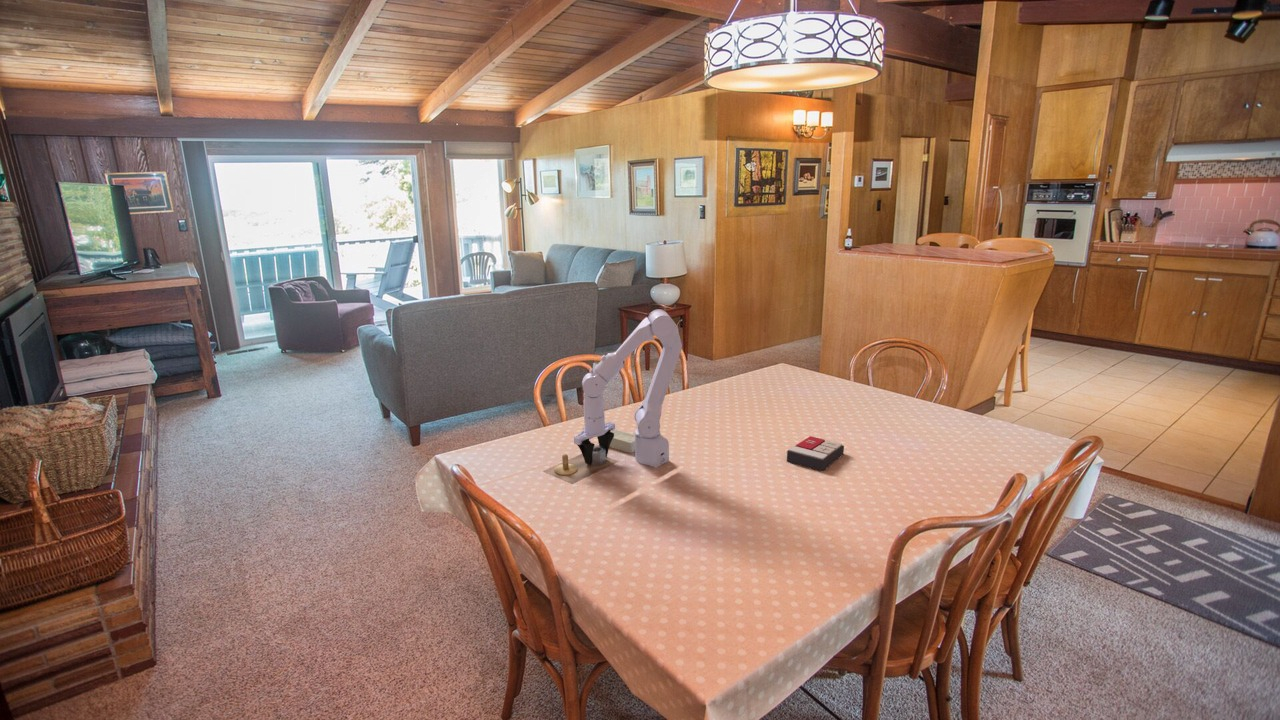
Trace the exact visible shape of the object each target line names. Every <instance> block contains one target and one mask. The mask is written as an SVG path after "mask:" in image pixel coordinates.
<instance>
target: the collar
mask: <svg viewBox="0 0 1280 720" xmlns="http://www.w3.org/2000/svg"><path fill="white" fill-rule="evenodd" d="M594 447H598V448H599V451H595V452H594V451H593V453H592V464H591V465H589V464H587V465H589V466H592V467H595V466H602V465H604V464H606V450H605V447H603V446H600V445H599V444H598V445H596V444H595V445H594Z"/></svg>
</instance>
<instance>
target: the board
mask: <svg viewBox="0 0 1280 720" xmlns="http://www.w3.org/2000/svg"><path fill="white" fill-rule="evenodd" d="M593 451H594V452H595V451H599V448H598V447H594V448H593ZM561 459H562V460H561V463H558V464H556V465H553V466H552V467H550V468H547V469H546V470H543V471H542V472H543V473H545V474H548V475H550V476H553V477H555V478H557V479H560V480H563V481H565V482H567V483H569V484H571V485H573V484H575V483H577V482H579V481H581V480H583V479H585V478H587V477H590V476H592V475H594V474H596V473H598V472H600V471H602V470H604V469H606V468H609V467H611V466H613V465H614V464H616V463H618V462H619V460H617V459H613V458H610V457H608V456H607V457H606V464H604V465H602V466H595V467H592V466H589V465H587V464H586V463H585V460H584V457H583V454H582V453H581V454H579V455H576V456H574V457H572V458H570V459H569V456H568V454H566V453H563V455H562V457H561Z"/></svg>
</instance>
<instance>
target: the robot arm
mask: <svg viewBox="0 0 1280 720" xmlns="http://www.w3.org/2000/svg"><path fill="white" fill-rule="evenodd" d="M679 332H680V331H679V327H678V325H677V324H676V323H675V321H674V320H673V319H672V317H671V315H669V314H668V312H667V311H666V310H664V309H660V308H659V309H654V310H652V311H651V312H650V313H649V314H648V317H647V316H646V317H644V319H642V321H641V322H640V323H639V324H638V325H637V326H636V327H635V329H634V330H633V331H632V332H631V333H630V334H629V336H628V337H626V339H625V340H624V341H623V343H622V344H621V345H620V346H619V347H618V349H616V351H613V352H608V353H607V354H606V355H605V354H603V355H602V356H601V357H600V361H599V362H598V363H597V364H596V366H594V367H593V368H590V369H589V372H588V373H586V374H585V375H584V376H583V378H582V381H581V386H582V390H583V396H582V397H583V420H584V427H582V431H581V432H579V433H578V434H577V435H575V436H573V444H575V445H576V446H578V448H579V450H580V452H581V454H583V457H584V460H585V463H586V464H589V465H591V464H592V453H593V448H594V446H596V444H595V443H594V442H591V439H593V438H596V437H597V441H598V445H600V446H603V447H605V450H606V457H608V454H609V450H610V447H609V446H610V443H611V441H612V439H613V437H614V433H612V432H611V430H615V429H616V423H614V422H612V421H609V422H605V421H606V419H605V418H606V417H605V399H604V395H603V394H604V392H605V386H606V385H608V384H609V383H610V382H611V381H612V380H613V379H614V378H615V377H616V376H617V375H618V373H620V371H621V370H623V368H624V361H625V360H626V359H627V358H628V357H629V356H630V355H631V354H632V353H633V352H634V351H636V349H637V348H639V346H640V345H642V344H643V342H646V341H655V337H656V338H657V339H658V340H659V341H660V343H661V345H662V349H661V353H660V354H659V355H660V356H659V359H658V362H657V364H656V367H655V370H654V373H653V375H652V379H651V381H650V384H649V387H648V391H647V394H646V396H645V398H644V399H643V400H642V401H641V404H640V406H639V407H638V408H637V409H636V411H635V413H634V421H635V423H636V426H637V427H636V429H634V434H635V451H634V455H635V456H634V457H635V458H634V460H635V461H636V462H637V463H638V464H641V465H646V466H650V467H652V468H658V467H660V466H661V465H664V464H666V463H667V462H669V461H670V443H669V439H668V438H666V437H664V436H663V435H662V433H661V421H660V420H661V416H662V409H663V408H662V407H663V404H664V400H665V397H666V396H667V392H668V389H669V388H670V387H669V386H670V382H671V381H672V377H673V375H674V372H675V369H676V367H677V363H678V361H679V357H680V355H681V352H682V349H683V344H682V340H681V336H680V333H679ZM654 336H655V337H654Z"/></svg>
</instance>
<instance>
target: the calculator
mask: <svg viewBox="0 0 1280 720" xmlns="http://www.w3.org/2000/svg"><path fill="white" fill-rule="evenodd" d="M844 451H845V446H844V444H842V443H841V442H835V441H831V440H828V439H827V440H826V439H824V438H819V437H815V436H812V435H809V436H808V437H807V438H805V439H803V440H802V441H800V442H798V443H797V444H796V445H794V446H793V447H791V448H789V449H788V450H787V451H786V463H790V464H793V465H797V466H800V467H804V468H807V469H810V468H811V470H815V471H818V472H821V471H823V472H824V471H825V470H827V469H826V468H827V467H828V468H829V467H830V466H831V464H833V463H835V462H836V461H837V460H838V459H839V458H841V457H842V456H843V455H844ZM841 455H842V456H841ZM840 456H841V457H840Z"/></svg>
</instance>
